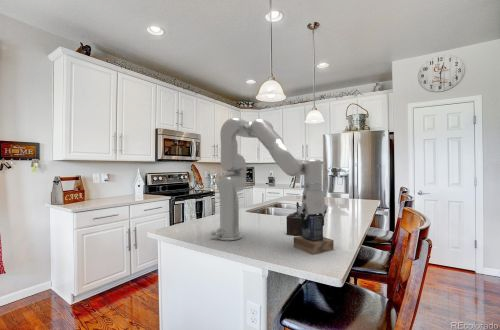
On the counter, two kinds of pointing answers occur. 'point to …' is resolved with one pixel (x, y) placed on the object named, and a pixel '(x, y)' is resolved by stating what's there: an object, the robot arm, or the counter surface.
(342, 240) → the counter surface
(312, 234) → the box
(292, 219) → the antique coffee grinder
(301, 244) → the base
